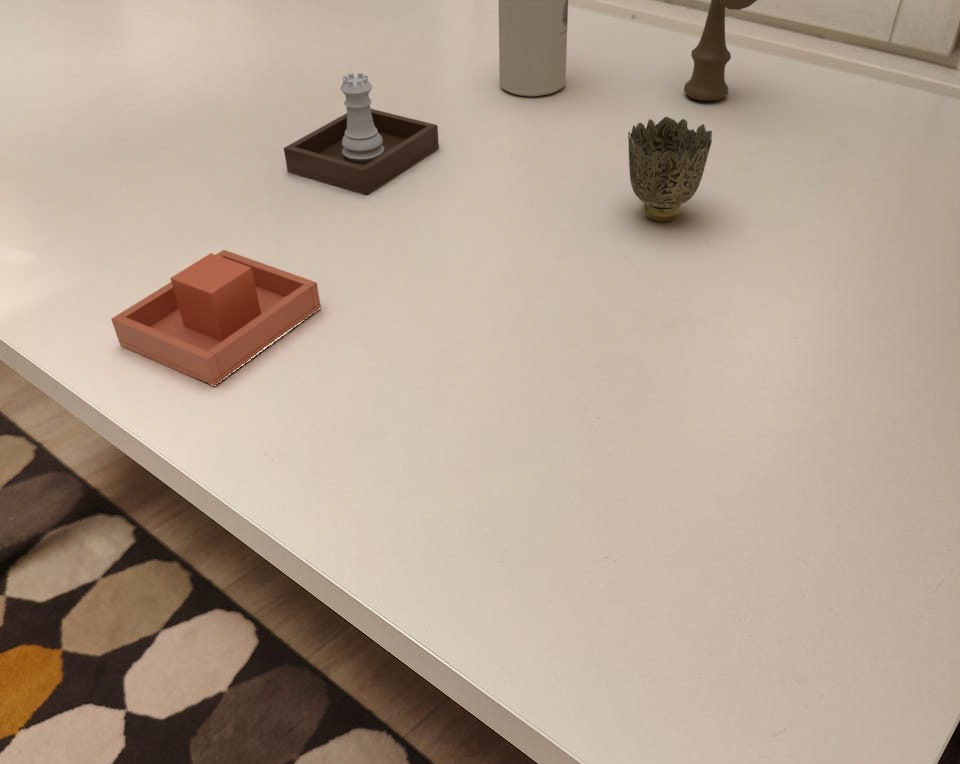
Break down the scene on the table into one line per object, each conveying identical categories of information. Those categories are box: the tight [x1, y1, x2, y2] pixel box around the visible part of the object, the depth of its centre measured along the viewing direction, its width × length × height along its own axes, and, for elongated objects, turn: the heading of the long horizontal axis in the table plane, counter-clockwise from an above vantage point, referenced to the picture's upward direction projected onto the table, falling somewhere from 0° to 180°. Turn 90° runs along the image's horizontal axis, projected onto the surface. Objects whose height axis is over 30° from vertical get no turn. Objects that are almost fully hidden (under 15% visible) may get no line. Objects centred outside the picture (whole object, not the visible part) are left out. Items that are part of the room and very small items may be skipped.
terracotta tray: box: [110, 249, 322, 387], centre depth 77 cm, size 13×11×3 cm
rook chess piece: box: [339, 72, 384, 162], centre depth 97 cm, size 4×4×8 cm
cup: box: [627, 116, 713, 223], centre depth 87 cm, size 8×7×8 cm
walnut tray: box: [283, 108, 440, 196], centre depth 100 cm, size 13×11×3 cm
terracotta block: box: [170, 253, 261, 341], centre depth 76 cm, size 4×4×4 cm
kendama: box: [683, 0, 758, 102], centre depth 104 cm, size 6×10×20 cm, turn 18°
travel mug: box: [498, 0, 569, 98], centre depth 108 cm, size 8×8×18 cm
